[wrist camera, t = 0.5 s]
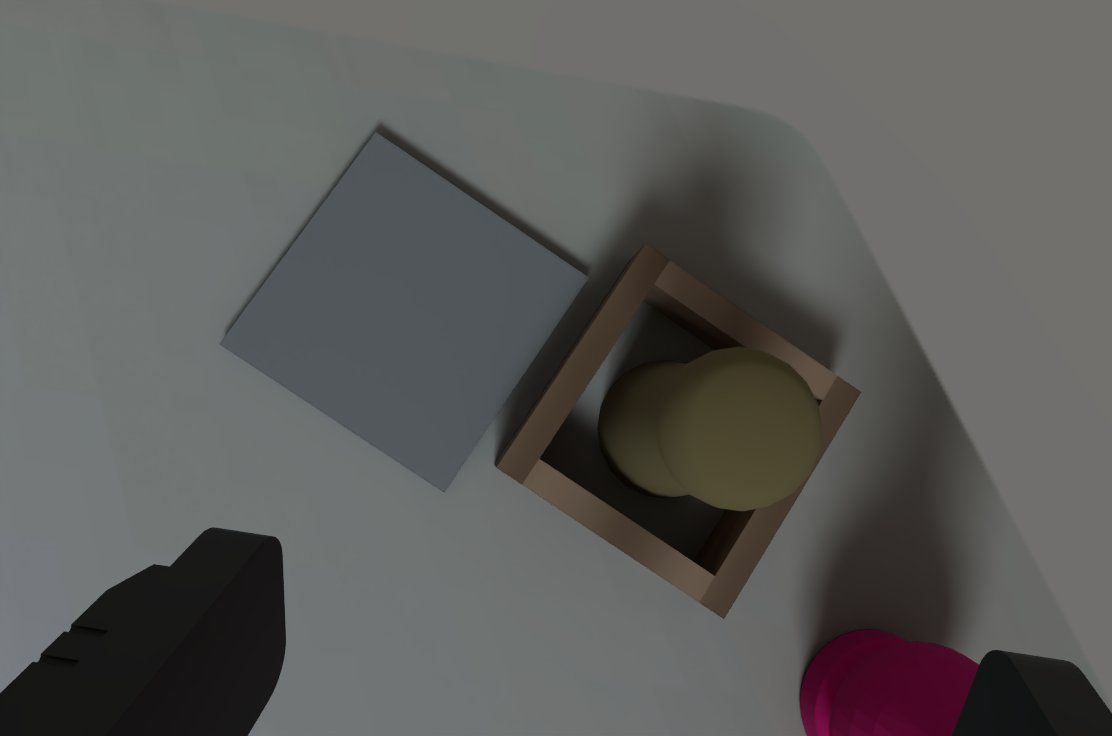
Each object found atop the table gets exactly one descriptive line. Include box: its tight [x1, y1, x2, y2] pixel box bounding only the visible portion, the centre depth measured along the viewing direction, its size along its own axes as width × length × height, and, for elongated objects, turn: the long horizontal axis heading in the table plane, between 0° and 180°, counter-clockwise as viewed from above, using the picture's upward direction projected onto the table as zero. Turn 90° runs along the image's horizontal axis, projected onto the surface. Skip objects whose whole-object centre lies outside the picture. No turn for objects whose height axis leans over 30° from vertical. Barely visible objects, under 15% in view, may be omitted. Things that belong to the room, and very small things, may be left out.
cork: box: [597, 347, 822, 511], centre depth 29 cm, size 6×6×11 cm
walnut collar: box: [494, 244, 861, 619], centre depth 32 cm, size 11×11×3 cm
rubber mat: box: [220, 132, 589, 492], centre depth 33 cm, size 11×11×1 cm
